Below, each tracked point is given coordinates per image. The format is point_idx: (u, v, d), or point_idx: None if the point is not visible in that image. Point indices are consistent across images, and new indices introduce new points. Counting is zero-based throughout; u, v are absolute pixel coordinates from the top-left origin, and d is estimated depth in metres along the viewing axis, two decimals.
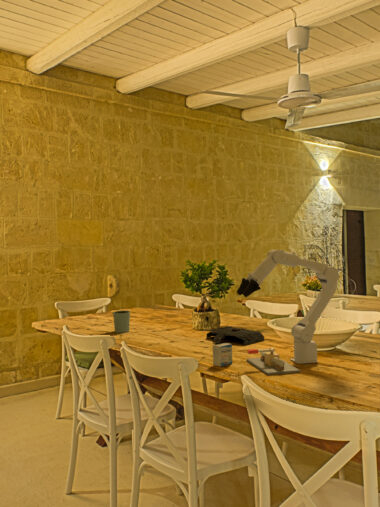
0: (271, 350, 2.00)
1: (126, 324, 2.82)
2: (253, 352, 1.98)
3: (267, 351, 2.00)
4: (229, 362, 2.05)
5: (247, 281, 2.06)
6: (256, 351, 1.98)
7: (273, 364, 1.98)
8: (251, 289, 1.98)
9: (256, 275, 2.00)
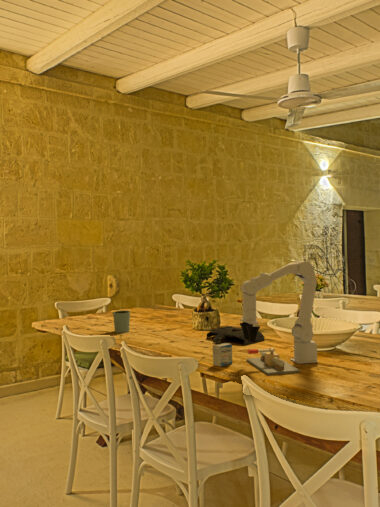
0: (271, 350, 2.00)
1: (126, 324, 2.82)
2: (253, 352, 1.98)
3: (267, 351, 2.00)
4: (229, 362, 2.05)
5: (245, 323, 2.07)
6: (256, 351, 1.98)
7: (273, 364, 1.98)
8: (253, 332, 2.00)
9: (248, 318, 2.01)
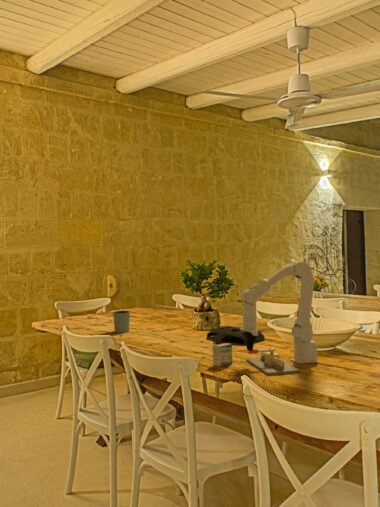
0: (271, 350, 2.00)
1: (126, 324, 2.82)
2: (253, 352, 1.98)
3: (267, 351, 2.00)
4: (229, 362, 2.05)
5: None
6: (256, 351, 1.98)
7: (273, 364, 1.98)
8: (251, 340, 2.03)
9: (248, 327, 2.01)
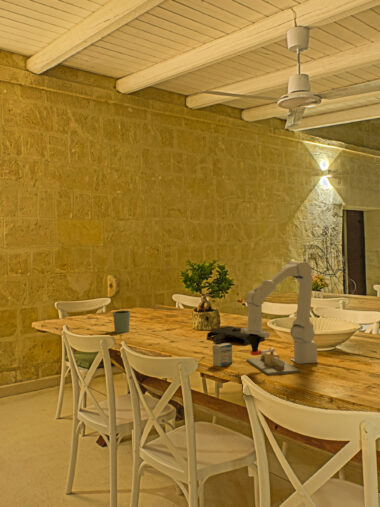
0: (272, 350, 2.00)
1: (126, 324, 2.82)
2: (257, 353, 1.96)
3: (268, 351, 1.99)
4: (229, 362, 2.05)
5: None
6: (259, 352, 1.96)
7: (273, 364, 1.98)
8: (256, 342, 1.98)
9: (256, 329, 1.95)
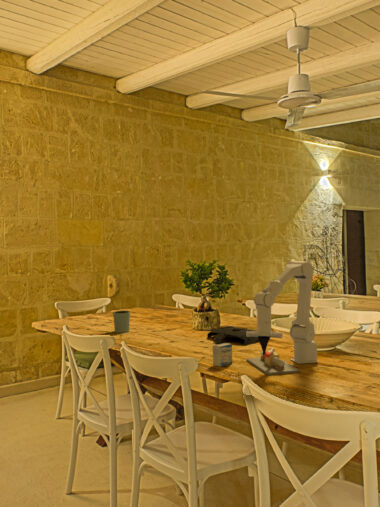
0: (273, 350, 2.00)
1: (126, 324, 2.82)
2: (270, 355, 1.92)
3: None
4: (229, 362, 2.05)
5: None
6: (270, 353, 1.94)
7: (273, 364, 1.98)
8: None
9: (269, 331, 1.92)
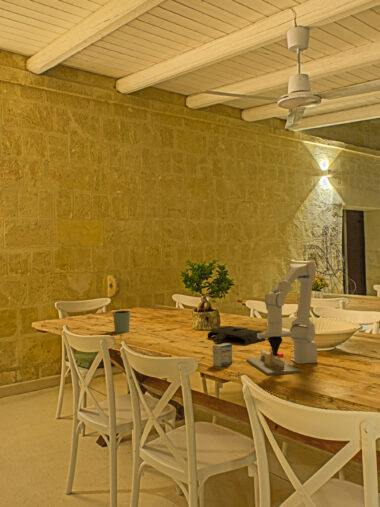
0: None
1: (126, 324, 2.82)
2: None
3: None
4: (229, 362, 2.05)
5: None
6: None
7: (273, 364, 1.98)
8: None
9: (281, 330, 1.91)
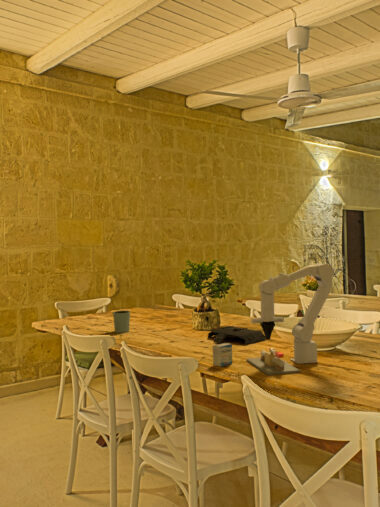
0: None
1: (126, 324, 2.82)
2: None
3: (275, 351, 1.99)
4: (229, 362, 2.05)
5: None
6: None
7: (273, 364, 1.98)
8: None
9: None
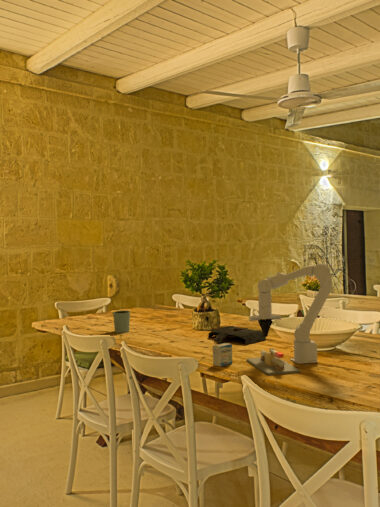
0: None
1: (126, 324, 2.82)
2: None
3: (275, 351, 1.99)
4: (229, 362, 2.05)
5: None
6: None
7: (273, 364, 1.98)
8: None
9: (271, 314, 2.12)
